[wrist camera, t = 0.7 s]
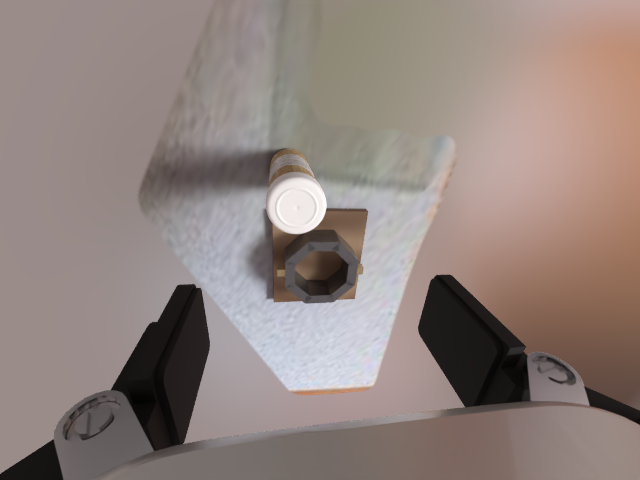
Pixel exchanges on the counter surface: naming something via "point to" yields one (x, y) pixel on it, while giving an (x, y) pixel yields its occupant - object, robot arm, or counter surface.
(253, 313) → the counter surface
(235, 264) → the counter surface
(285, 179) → the sprinkles bottle
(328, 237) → the socket
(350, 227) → the walnut board
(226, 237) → the counter surface
